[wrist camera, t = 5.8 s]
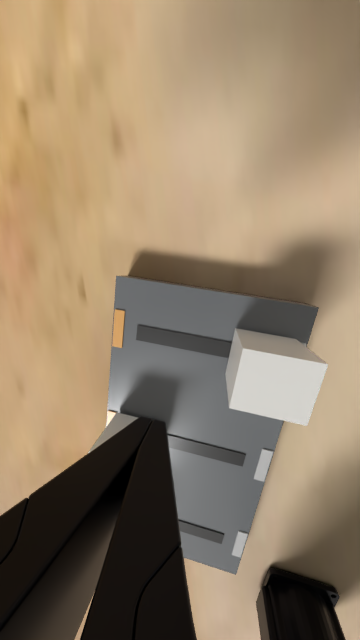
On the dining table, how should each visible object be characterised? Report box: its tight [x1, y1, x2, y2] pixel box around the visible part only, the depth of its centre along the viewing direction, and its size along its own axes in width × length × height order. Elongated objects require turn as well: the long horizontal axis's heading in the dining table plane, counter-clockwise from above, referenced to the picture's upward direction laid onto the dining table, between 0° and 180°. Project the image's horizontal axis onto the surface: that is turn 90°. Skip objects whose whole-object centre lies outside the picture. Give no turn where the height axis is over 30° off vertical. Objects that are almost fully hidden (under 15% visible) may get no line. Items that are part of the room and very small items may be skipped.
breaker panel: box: [106, 276, 318, 575], centre depth 18 cm, size 14×26×2 cm, turn 172°
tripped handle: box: [225, 328, 328, 426], centre depth 12 cm, size 4×4×4 cm
